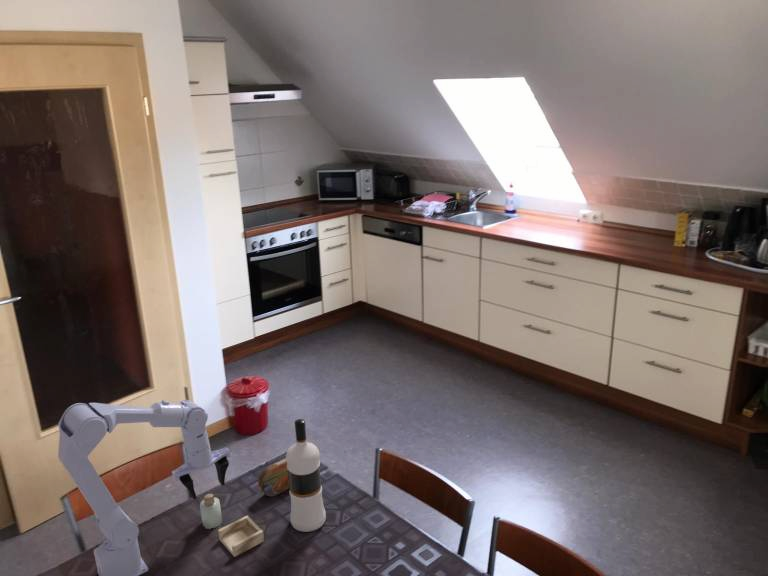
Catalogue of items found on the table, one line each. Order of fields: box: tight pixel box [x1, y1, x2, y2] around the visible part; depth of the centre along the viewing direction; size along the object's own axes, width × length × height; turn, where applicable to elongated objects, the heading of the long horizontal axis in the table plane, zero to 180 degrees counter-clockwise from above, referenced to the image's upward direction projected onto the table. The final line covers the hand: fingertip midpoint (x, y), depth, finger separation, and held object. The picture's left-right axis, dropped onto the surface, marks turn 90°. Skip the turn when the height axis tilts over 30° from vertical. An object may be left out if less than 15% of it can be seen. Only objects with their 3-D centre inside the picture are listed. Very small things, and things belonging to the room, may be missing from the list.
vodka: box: [285, 418, 327, 533], centre depth 157 cm, size 9×9×30 cm
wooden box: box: [217, 515, 265, 558], centre depth 156 cm, size 8×8×3 cm
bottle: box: [199, 493, 223, 530], centre depth 162 cm, size 5×5×8 cm
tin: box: [257, 457, 290, 497], centre depth 175 cm, size 15×3×8 cm, turn 129°
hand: (208, 490), depth 160 cm, fingers open, 7 cm apart
